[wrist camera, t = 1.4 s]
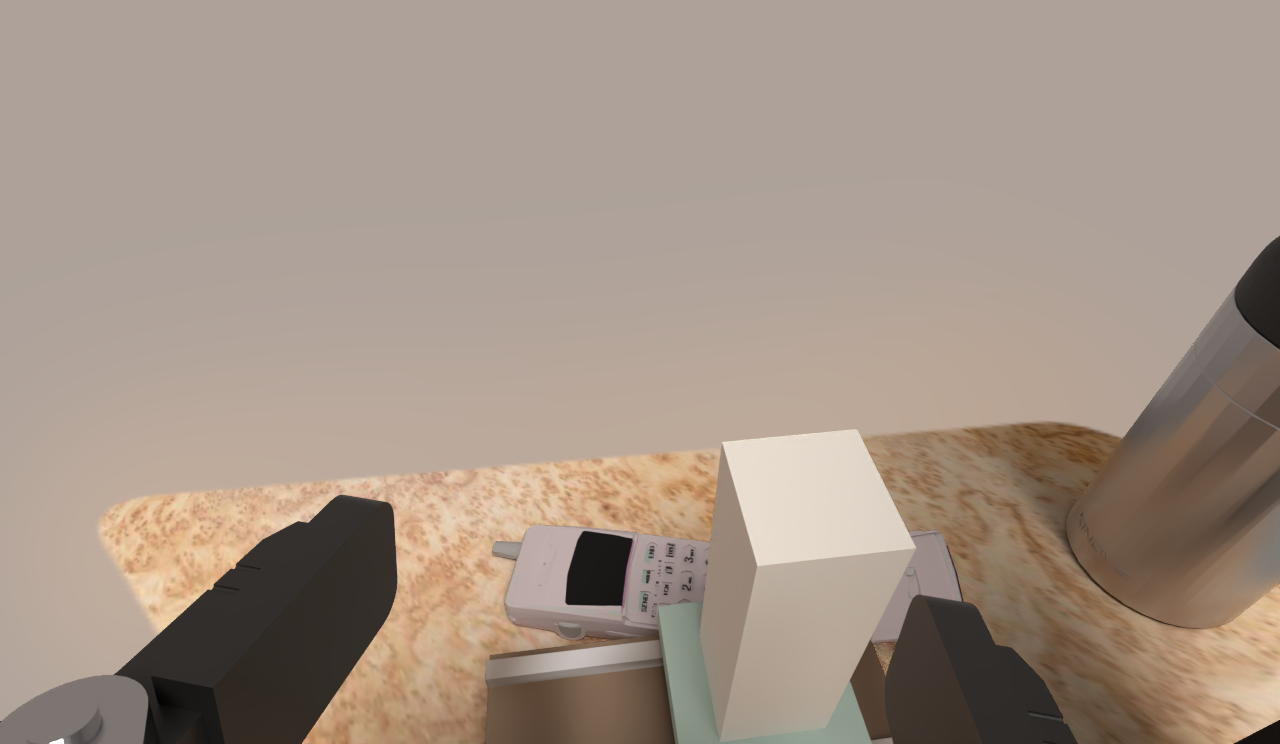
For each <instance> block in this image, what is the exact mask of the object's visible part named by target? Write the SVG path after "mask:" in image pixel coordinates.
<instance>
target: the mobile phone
mask: <svg viewBox="0 0 1280 744" xmlns="http://www.w3.org/2000/svg"><path fill="white" fill-rule="evenodd" d="M909 534H910V536H911V538H912V540H913V542H914V544H915V546H916V550H915V552H914V554H913V556H912V558H911V560H910V562H909V564H908V566H907V568H906V570H905V572H904V574H903V576H902V578H901V579H900V581H899V583H898V585H897V587H896V589H895V591H894V593H893V595H892V597H891V599H890V601H889V603H888V605H887V607H886V609H885V611H884V613H883V615H882V617H881V619H880V621H879V623H878V625H877V627H876V629H875V633H874V635H873V637H872V639H871V641H872V644H873V643H884V642H895V641H898V638H899V635H900V632H901V629H902V626H903V623H904V620H905V617H906V614H907V611H908V608H909V605H910V603H911V601H912V599H913V598H914V597H915V596H916V595H919V594H920V595H926V596H932V597H937V598H943V599H949V600H955V601H961V602H963V598H962V593H961V589H960V585H959V580H958V576H957V572H956V569H955V567H954V564H953V561H952V558H951V555H950V552H949V549H948V546H947V544H946V542H945V540H944V538H943V536H942V535H941V533H940V532H939V531H937V530H930V531H924V532H920V531H919V530H916V531H910V532H909ZM709 549H710V542H704V541H697V540H689V539H681V538H672V537H664V536H656V535H647V534H639V533H637V532H629V531H619V530H609V529H598V528H588V527H572V526H551V525H535V526H532V527H530V528H529V529H527V531H526V532H525V535H524V538H523V541H522V542H503V541H495V543H494V545H493V550H492V552H493V555H495V556H500V557H505V558H511V559H516V560H517V561H516V564H515V567H514V570H513V574H512V577H511V580H510V583H509V587H508V590H507V593H506V596H505V600H504V603H505V608H506V611H507V614H508V617H509V618H510V620H511V621H512V622H513V623H515V624H517V625H523V626H528V627H534V628H539V629H544V630H550V631H555V632H556V633H557V634H558V635H559V636H560V637H561V638H564V639H567V640H580V639H582V638H584V637H585V636H590V637H598V638H606V639H613V640H620V639H628V638H636V637H644V636H653V635H659V630H658V607H659V606H667V605H676V604H684V603H693V602H701V601H703V600H704V592H705V583H706V575H707V566H708V558H709Z"/></svg>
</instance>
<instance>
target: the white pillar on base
mask: <svg viewBox="0 0 1280 744" xmlns="http://www.w3.org/2000/svg"><path fill="white" fill-rule="evenodd" d="M915 550H916V546H915V544H914V542H913V540H912V538H911V536H910V534H909V532H908V530H907V528H906V526H905V524H904V522H903V520H902V518H901V516H900V514H899V512H898V510H897V508H896V506H895V504H894V502H893V500H892V498H891V496H890V494H889V492H888V490H887V488H886V486H885V484H884V482H883V480H882V478H881V476H880V474H879V472H878V470H877V468H876V466H875V464H874V462H873V460H872V458H871V456H870V454H869V452H868V450H867V448H866V446H865V444H864V442H863V440H862V438H861V436H860V434H859V432H858V430H857V429H852V430H841V431H831V432H821V433H810V434H800V435H789V436H779V437H770V438H758V439H748V440H738V441H727V442H722V447H721V456H720V464H719V473H718V481H717V490H716V498H715V507H714V515H713V524H712V532H711V541H710V549H709V558H708V566H707V575H706V583H705V592H704V600H703V601H701V602H693V603H684V604H676V605H667V606H659V607H658V630H659V636H660V643H661V650H662V657H663V664H664V671H665V677H666V684H667V691H668V698H669V705H670V712H671V718H672V725H673V732H674V739H675V744H872V742H871V740H870V737H869V734H868V731H867V728H866V725H865V722H864V720H863V717H862V714H861V711H860V708H859V705H858V703H857V700H856V697H855V694H854V691H853V688H852V685H851V683H850V679H851V677H852V675H853V673H854V671H855V669H856V667H857V665H858V663H859V661H860V659H861V657H862V655H863V653H864V651H865V649H866V647H867V645H868V643H869V641H870V639H871V637H872V635H873V633H874V631H875V629H876V627H877V625H878V623H879V621H880V619H881V617H882V615H883V613H884V611H885V609H886V607H887V605H888V603H889V601H890V599H891V597H892V595H893V593H894V591H895V589H896V587H897V585H898V583H899V581H900V579H901V578H902V576H903V574H904V572H905V570H906V568H907V566H908V564H909V562H910V560H911V558H912V556H913V554H914V552H915Z"/></svg>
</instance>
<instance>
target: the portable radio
mask: <svg viewBox="0 0 1280 744" xmlns="http://www.w3.org/2000/svg"><path fill="white" fill-rule="evenodd" d="M1234 744H1280V720H1279V721H1277V722H1275V723H1273V724H1271V725H1269V726H1267V727H1265V728H1263V729H1261V730H1259V731H1257V732H1255V733H1253V734H1252V735H1250V736H1248V737H1246V738H1244V739H1242V740H1240V741H1238V742H1236V743H1234Z"/></svg>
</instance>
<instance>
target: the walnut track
mask: <svg viewBox="0 0 1280 744" xmlns="http://www.w3.org/2000/svg"><path fill="white" fill-rule="evenodd" d="M874 633H875V631H874ZM874 633H873V635H874ZM873 635H872V637H873ZM872 637H871V639H872ZM871 639H870V641H869V643H868V645H867V647H866V649H865V651H864V653H863V655H862V657H861V659H860V661H859V663H858V665H857V667H856V669H855V671H854V673H853V675H852V677H851V679H850V683H851V685H852V688H853V691H854V694H855V697H856V700H857V703H858V705H859V708H860V711H861V714H862V717H863V720H864V722H865V725H866V728H867V731H868V734H869V737H870V740H871V742H872V744H893V741H892V737H891V733H890V729H889V725H888V721H887V716H886V710H885V681H886V677H885V674H884V672H883V669H882V667H881V664H880V662H879V659H878V657H877V654H876V652H875V649H874V646H873V644H872V641H871ZM485 681H486V683H487V686H488V702H487V721H486V741H485V744H675V739H674V732H673V725H672V718H671V712H670V705H669V698H668V691H667V684H666V677H665V671H664V664H663V657H662V650H661V643H660V636H659V635H653V636H644V637H636V638H628V639H620V640H611V641H603V642H595V643H587V644H578V645H570V646H562V647H553V648H545V649H537V650H529V651H520V652H512V653H504V654H495V655H490V660H488V661H486V672H485Z"/></svg>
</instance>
